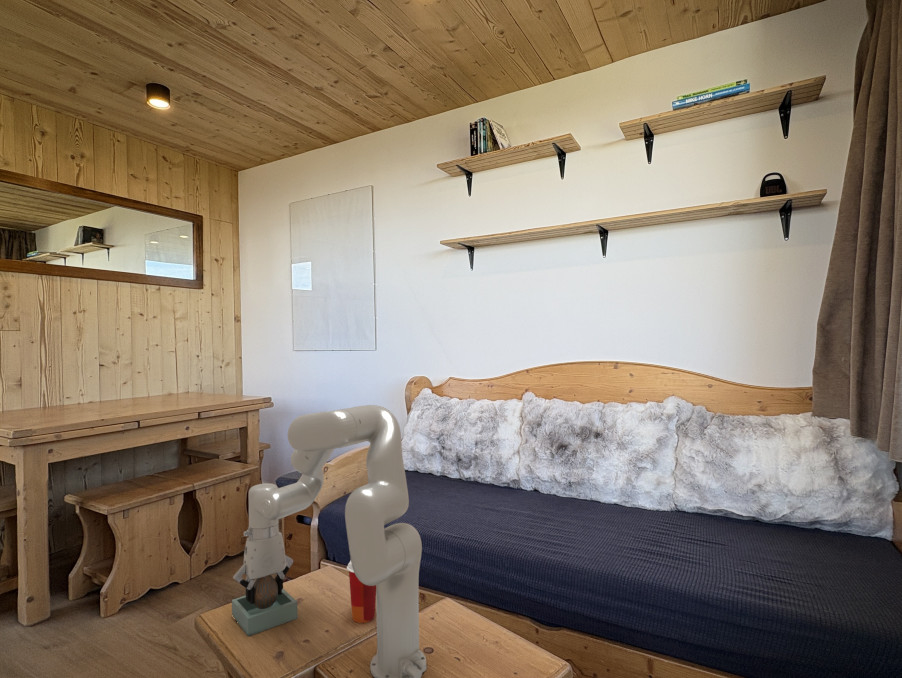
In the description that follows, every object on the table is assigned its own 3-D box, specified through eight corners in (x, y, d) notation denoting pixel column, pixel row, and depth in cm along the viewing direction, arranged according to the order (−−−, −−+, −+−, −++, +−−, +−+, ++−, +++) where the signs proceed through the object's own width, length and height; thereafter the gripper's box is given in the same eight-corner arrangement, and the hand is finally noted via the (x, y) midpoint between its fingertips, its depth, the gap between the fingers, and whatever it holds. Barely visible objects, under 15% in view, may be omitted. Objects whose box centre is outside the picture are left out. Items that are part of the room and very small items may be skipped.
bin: (297, 618, 136) (297, 601, 136) (248, 636, 128) (247, 618, 128) (278, 600, 146) (278, 584, 146) (231, 616, 138) (231, 599, 138)
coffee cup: (378, 608, 141) (377, 553, 141) (379, 623, 133) (378, 566, 133) (348, 611, 139) (347, 556, 140) (347, 627, 131) (346, 569, 132)
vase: (272, 611, 133) (272, 578, 134) (246, 612, 133) (246, 578, 134) (282, 599, 140) (281, 567, 140) (257, 599, 140) (257, 567, 141)
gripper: (235, 543, 129) (236, 614, 128) (300, 526, 140) (301, 592, 140) (226, 535, 135) (226, 603, 134) (289, 520, 146) (290, 582, 145)
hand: (264, 597), depth 137 cm, fingers closed on vase, 6 cm apart
